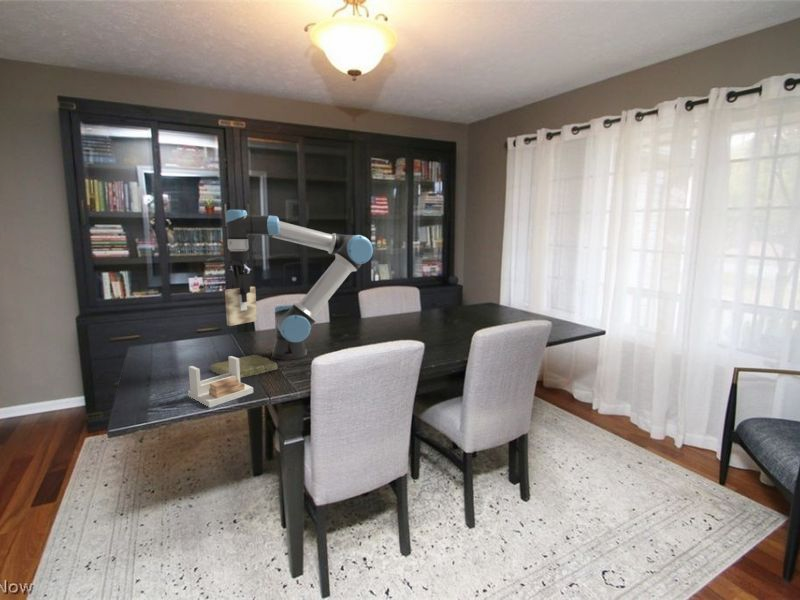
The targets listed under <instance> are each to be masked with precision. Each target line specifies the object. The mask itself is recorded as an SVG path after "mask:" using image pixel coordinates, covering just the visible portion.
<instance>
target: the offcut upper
mask: <svg viewBox="0 0 800 600" xmlns="http://www.w3.org/2000/svg"><path fill="white" fill-rule="evenodd" d="M238 385H239V381H238V379H236V378H233V377H230V378H227V379H223V380H220V381H217V382H213V383H210V389H211V390H213V391H215V392H219V391H222V390H225V389H228V388H231V387H234V386H238Z"/></svg>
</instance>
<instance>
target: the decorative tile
mask: <svg viewBox="0 0 800 600" xmlns="http://www.w3.org/2000/svg"><path fill="white" fill-rule="evenodd" d="M238 358H239V364H240V379H241V378H245V377H250V376H256V375H260V373H261V374H265V373H267V372H271V371H275V370H278V364H277V362H275V361H273V360H271V359H269V358H267V357H263V356H261V355H258V354H252V355H247V356H241V357H238ZM211 370H212V371H211ZM210 371H211V372H213V373H215V372H216V373H215V374H217V375H218V376H220V375H223V374H227V373H229V359H228V360H225V361H220V362H219V361H218V362H216V363H215V362H214V363H212V364H211V365H210Z"/></svg>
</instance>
